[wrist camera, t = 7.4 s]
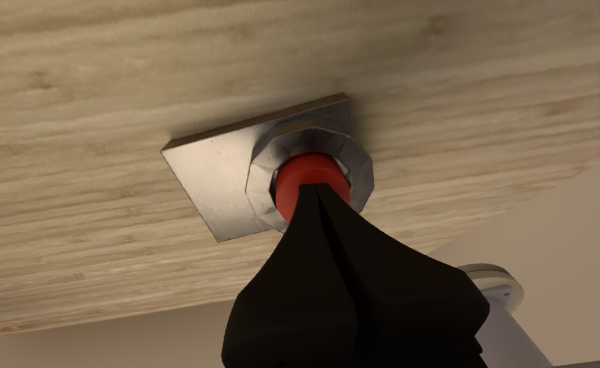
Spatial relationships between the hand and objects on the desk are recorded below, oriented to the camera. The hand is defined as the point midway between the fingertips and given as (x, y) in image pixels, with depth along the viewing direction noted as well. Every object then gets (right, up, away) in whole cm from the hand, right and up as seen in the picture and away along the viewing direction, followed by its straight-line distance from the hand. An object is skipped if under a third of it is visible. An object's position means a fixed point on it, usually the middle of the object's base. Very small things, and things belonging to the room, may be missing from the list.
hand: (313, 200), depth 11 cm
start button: (0, +1, +1) cm, 2 cm away
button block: (-2, +2, +3) cm, 4 cm away
